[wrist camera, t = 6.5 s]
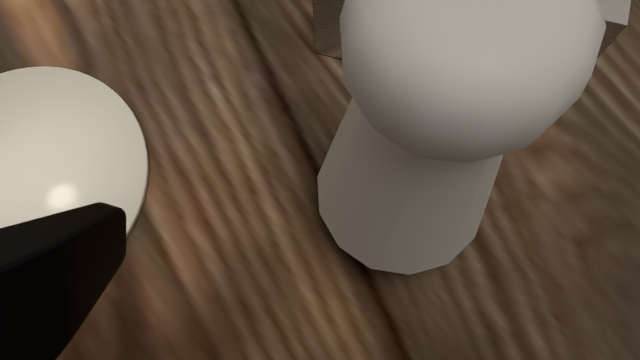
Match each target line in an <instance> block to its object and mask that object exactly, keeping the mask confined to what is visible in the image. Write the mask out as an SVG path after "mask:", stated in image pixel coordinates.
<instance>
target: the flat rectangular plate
mask: <svg viewBox="0 0 640 360" xmlns="http://www.w3.org/2000/svg"><path fill="white" fill-rule="evenodd" d="M312 1H313V16H314V31H315V45H316V53H319V54H322V55H326V56H330V57H334V58H338V59H342V48H341V33H340V15H341V12H342V8H343V5H344V2H345V0H312ZM599 2H600V6H601V9H602V13H603V16H604V20H605V23H606V29H605V33H604V36H603V39H602V43H601V46H600V49H599V53H598V56H597V58H598V57H599V56H600V55H601V54H602V53H603V51H604V50H605V49H606V48H607V47H608V46H609V45H610V44H611V43H612V42H613V40H614V39H615V38H616V37H617V36H618V35H619V34H620V33H621V32H622V31H623V29H624V28H625V27H626V26H627V23H628V17H629V10H630V3H631V0H599Z"/></svg>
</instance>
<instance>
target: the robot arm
mask: <svg viewBox="0 0 640 360" xmlns="http://www.w3.org/2000/svg"><path fill="white" fill-rule="evenodd" d="M125 254H126V213H125V211H124V210H123V209H122V208H120V207H116V206H113V205H110V204H107V203H103V202H97V203H93V204H90V205H86V206H82V207H78V208H75V209H71V210H67V211H63V212H59V213H56V214H52V215H48V216H44V217H41V218H37V219H33V220H29V221H26V222H22V223H18V224H14V225H11V226H7V227H3V228H0V360H56V359H57V357H58V356H59V355H60V354H61V352H62V351H63V350H64V349H65V347H66V346H67V345H68V343H69V342H70V341H71V339H72V338H73V337H74V335H75V334H76V332H77V331H78V329H79V328H80V326H81V325H82V323H83V322H84V320H85V319H86V317H87V316H88V314H89V313H90V311H91V310H92V308H93V307H94V305H95V304H96V302H97V301H98V299H99V298H100V296H101V295H102V293H103V292H104V290H105V289H106V287H107V285H108V284H109V282H110V281H111V279H112V278H113V276H114V275H115V273H116V272H117V270H118V269H119V267H120V266H121V264H122V262H123V260H124V257H125Z"/></svg>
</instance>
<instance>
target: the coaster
mask: <svg viewBox="0 0 640 360" xmlns="http://www.w3.org/2000/svg"><path fill="white" fill-rule="evenodd" d="M149 170H150V167H149V153H148V148H147V143H146V139H145V136H144V133H143V131H142V128H141V126H140V124H139V122H138V120H137V118H136V116H135V115H134V113H133V112H132V111H131V109H130V108H129V107H128V105H127V104H126V103H125V102H124V101H123V99H122V98H121V97H119V96H118V95H117V94H116V93H115V92H114V91H113V90H112V89H111V88H109V87H108V86H106V85H105V84H104V83H102V82H101V81H99V80H97V79H95V78H93V77H91V76H89V75H86V74H83V73H81V72H78V71H75V70H70V69H65V68H59V67H29V68H22V69H16V70H12V71H8V72H5V73H1V74H0V228H3V227H7V226H11V225H14V224H18V223H22V222H26V221H29V220H33V219H37V218H41V217H44V216H48V215H52V214H56V213H59V212H63V211H67V210H71V209H75V208H78V207H82V206H86V205H90V204H93V203H97V202H103V203H107V204H110V205H113V206H116V207H120V208H122V209H123V210H124V211H125V213H126V239H127V237H128V236H129V234H130V233H131V231H132V229H133V227H134V225H135V223H136V221H137V219H138V217H139V215H140V212H141V210H142V207H143V204H144V201H145V197H146V193H147V188H148V183H149Z"/></svg>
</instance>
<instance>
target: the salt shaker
mask: <svg viewBox="0 0 640 360" xmlns="http://www.w3.org/2000/svg"><path fill="white" fill-rule="evenodd" d="M605 29H606V23H605V20H604V16H603V13H602V9H601V6H600V2H599V0H345V2H344V5H343V8H342V12H341V15H340V33H341V48H342V63H343V78H344V85H345V87H346V88H347V90H348V91H349V93H350V94H351V96H352V99H351V102H350V104H349V106H348V108H347V111H346V113H345V115H344V117H343V119H342V122H341V124H340V126H339V128H338V130H337V133H336V135H335V137H334V139H333V142H332V144H331V146H330V148H329V151H328V153H327V155H326V158H325V160H324V162H323V165H322V167H321V169H320V172H319V174H318V176H317V180H318V198H319V213H320V215H321V217H322V218H323V220H324V222H325V224H326V225H327V227H328V229H329V231H330V232H331V234H332V236H333V238H334V239H335V241H336V243H337V245H338V246H339V247H340V248H341V249H343V250H344V251H346V252H347V253H348V254H350V255H351V256H353V257H354V258H356V259H357V260H359V261H360V262H361V263H363V264H364V265H366V266H367V267H369V268H370V269H375V270H381V271H388V272H394V273H400V274H407V275H411V274H415V273H418V272H422V271H425V270H429V269H432V268H436V267H439V266H443V265H446V264H449V263H450V262H451V261H452V260H453V259H454V258H455V257H456V256H457V255H458V254H459V253H460V252H461V251H462V250H463V249H464V248H465V247H466V246H467V245H468V244H469V243H470V242H471V241H472V240H473V239H474V238H475V236H476V233H477V230H478V228H479V225H480V222H481V219H482V216H483V213H484V211H485V208H486V205H487V202H488V199H489V196H490V193H491V190H492V187H493V184H494V181H495V178H496V175H497V172H498V170H499V167H500V164H501V161H502V158H503V155H504V154H506V153H509V152H513V151H517V150H520V149H524V148H526V147H527V146H528V145H529V144H531V143H532V142H533V141H534V140H535V139H537V138H538V137H539V136H540V135H541V134H543V133H544V132H545V131H546V130H547V129H548V128H549V127H550V126H551V125H552V124H553V123H554V122H555V121H556V120H557V119H558V118H559V117H560V116H561V115H562V114H563V113H564V112H565V111H566V110H567V109H568V108H569V107H570V106H572V105H573V104H574V103H575V102H576V101H577V100H578V99H579V98H580V96H581V94H582V92H583V90H584V88H585V86H586V85H587V83H588V81H589V79H590V77H591V75H592V72H593V69H594V66H595V62H596V59H597V56H598V53H599V49H600V46H601V43H602V39H603V36H604V33H605Z"/></svg>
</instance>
